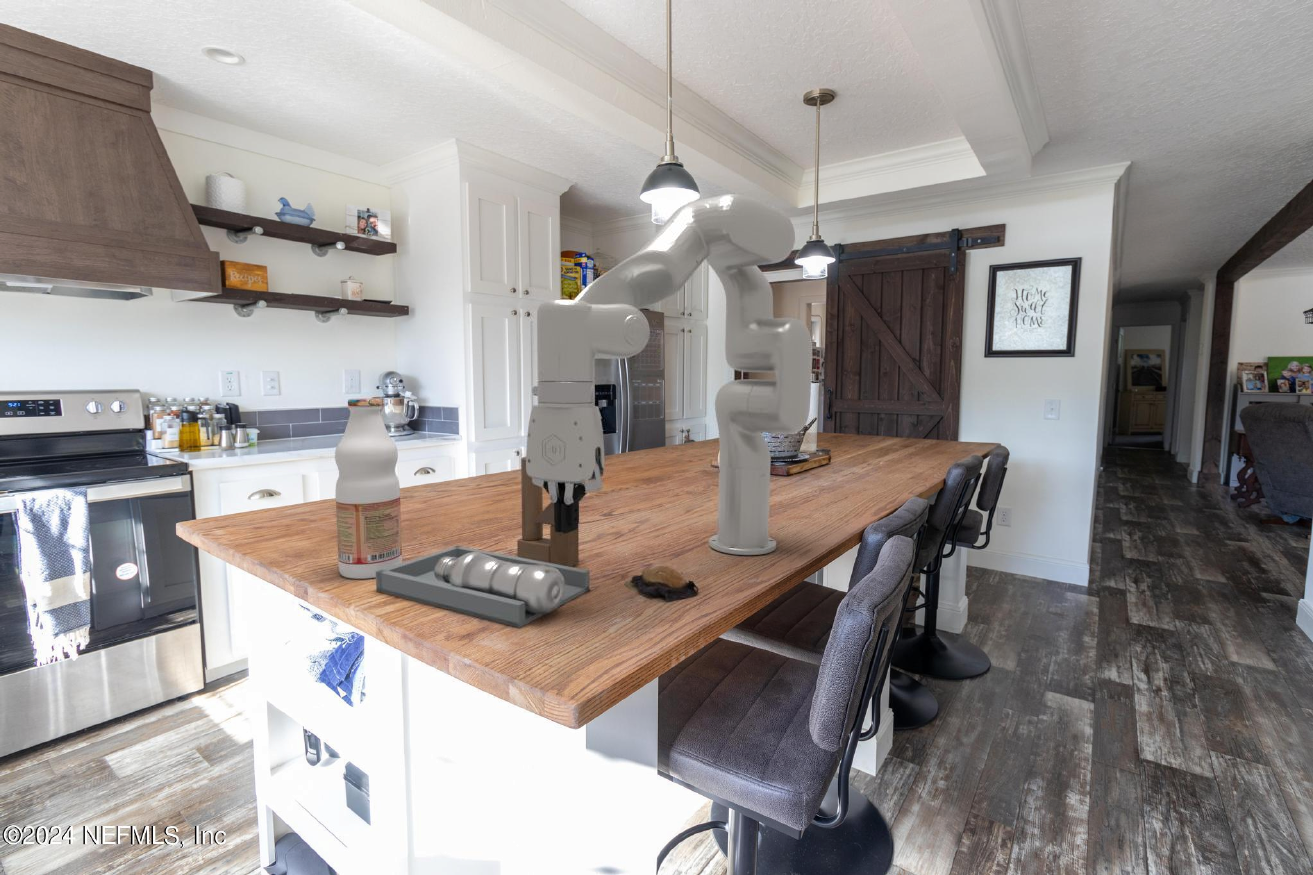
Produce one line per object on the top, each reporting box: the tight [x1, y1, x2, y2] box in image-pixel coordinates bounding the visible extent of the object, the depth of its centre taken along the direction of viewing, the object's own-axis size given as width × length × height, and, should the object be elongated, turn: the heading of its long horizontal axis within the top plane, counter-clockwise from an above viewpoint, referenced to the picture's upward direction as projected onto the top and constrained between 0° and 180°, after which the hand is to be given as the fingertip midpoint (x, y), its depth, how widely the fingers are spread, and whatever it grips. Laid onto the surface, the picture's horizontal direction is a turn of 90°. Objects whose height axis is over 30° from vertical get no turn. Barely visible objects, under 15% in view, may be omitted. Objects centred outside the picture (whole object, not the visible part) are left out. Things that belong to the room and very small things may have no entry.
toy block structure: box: [516, 456, 580, 568], centre depth 105 cm, size 4×11×18 cm, turn 61°
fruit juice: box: [334, 398, 403, 580], centre depth 99 cm, size 9×9×28 cm
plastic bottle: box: [434, 552, 565, 615], centre depth 85 cm, size 6×7×20 cm
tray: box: [375, 545, 591, 629], centre depth 91 cm, size 16×27×3 cm, turn 62°
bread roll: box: [623, 565, 700, 604], centre depth 93 cm, size 11×8×4 cm
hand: (566, 530), depth 83 cm, fingers closed
